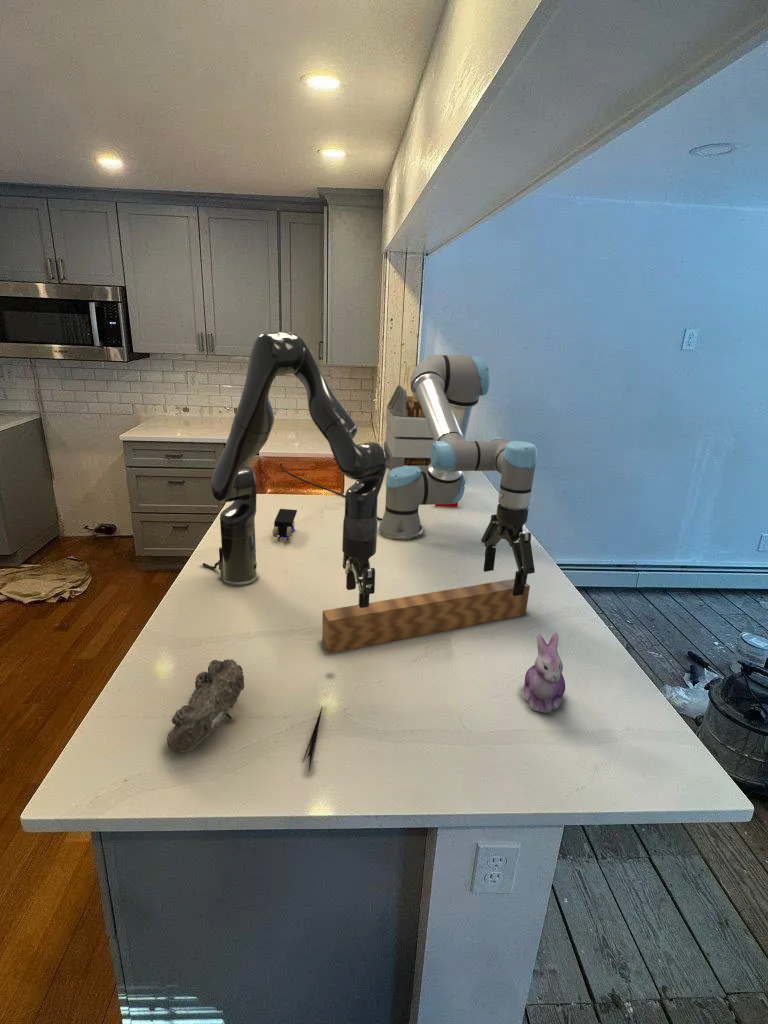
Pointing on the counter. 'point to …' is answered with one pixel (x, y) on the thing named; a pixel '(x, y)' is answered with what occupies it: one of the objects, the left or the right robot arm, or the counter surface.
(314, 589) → the counter surface
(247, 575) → the left robot arm
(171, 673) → the counter surface
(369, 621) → the beam
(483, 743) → the counter surface
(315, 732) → the feather
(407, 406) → the grey and brown box
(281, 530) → the figurine character
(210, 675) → the fossil
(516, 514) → the right robot arm
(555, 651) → the figurine
